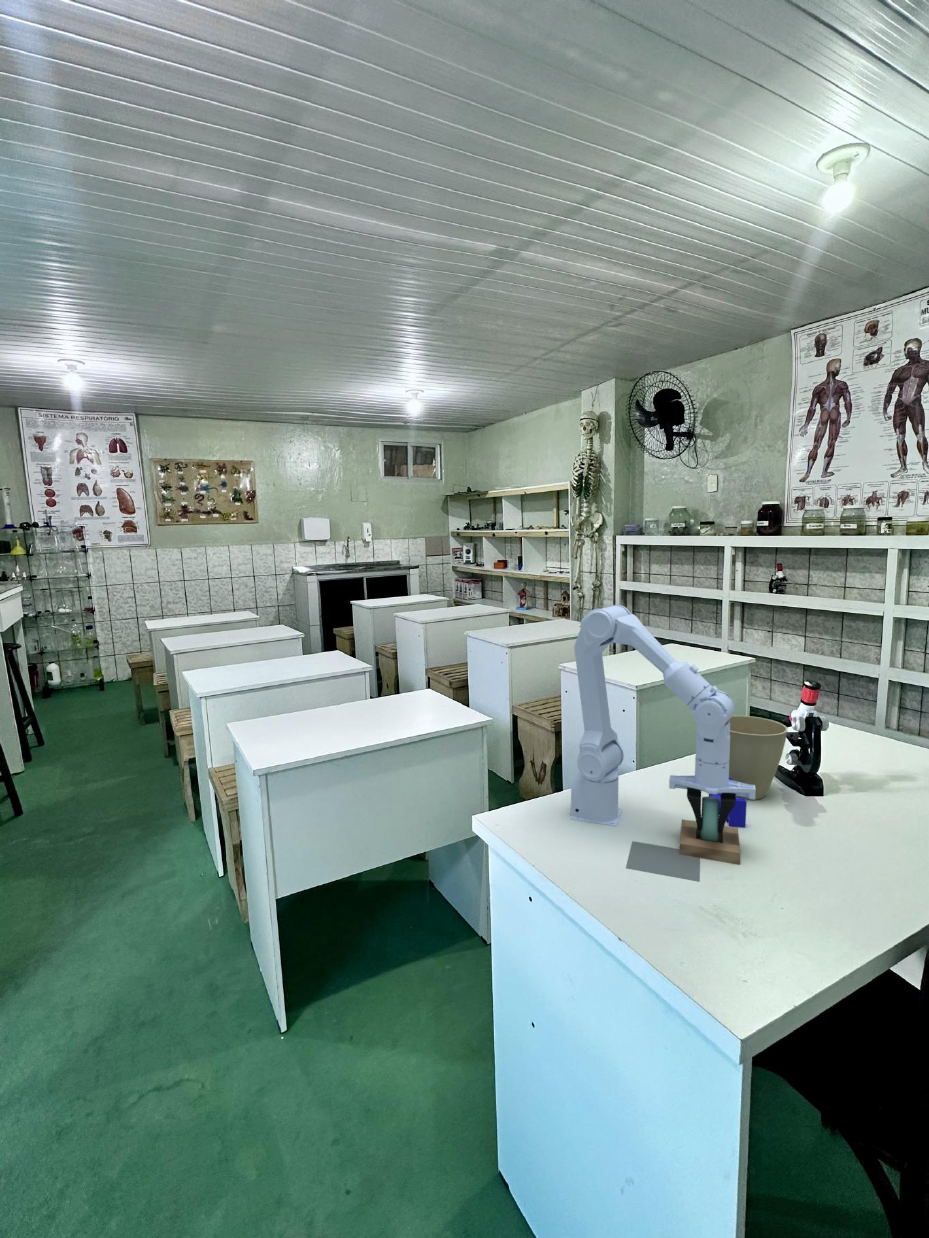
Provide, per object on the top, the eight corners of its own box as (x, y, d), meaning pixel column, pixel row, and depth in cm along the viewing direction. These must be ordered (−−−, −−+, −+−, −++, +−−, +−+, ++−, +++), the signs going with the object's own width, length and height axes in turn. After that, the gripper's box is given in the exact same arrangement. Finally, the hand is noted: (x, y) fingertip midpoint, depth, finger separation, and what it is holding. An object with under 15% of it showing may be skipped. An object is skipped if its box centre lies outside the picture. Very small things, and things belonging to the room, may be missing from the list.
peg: (700, 843, 109) (701, 801, 108) (701, 835, 112) (702, 795, 111) (717, 846, 108) (719, 804, 107) (718, 838, 111) (719, 798, 110)
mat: (625, 870, 103) (625, 867, 103) (632, 843, 113) (632, 841, 113) (699, 883, 99) (699, 881, 99) (700, 854, 108) (700, 852, 108)
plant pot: (799, 804, 128) (803, 732, 126) (734, 809, 126) (737, 737, 124) (757, 777, 142) (760, 713, 140) (698, 781, 140) (700, 716, 138)
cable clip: (708, 802, 130) (709, 776, 129) (730, 804, 129) (731, 777, 128) (721, 828, 118) (722, 800, 117) (745, 830, 117) (746, 801, 116)
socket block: (679, 856, 108) (679, 843, 107) (681, 831, 117) (681, 819, 116) (739, 866, 104) (740, 853, 104) (737, 839, 113) (737, 827, 113)
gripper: (668, 761, 107) (667, 832, 109) (758, 771, 102) (754, 846, 103) (671, 748, 114) (669, 816, 115) (755, 757, 108) (751, 828, 110)
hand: (709, 829), depth 110 cm, fingers closed on peg, 3 cm apart
